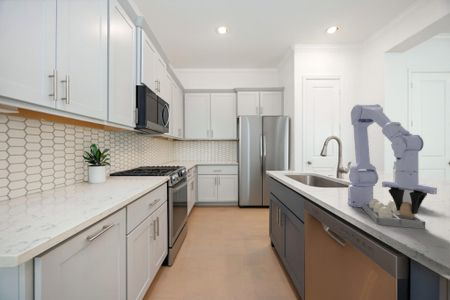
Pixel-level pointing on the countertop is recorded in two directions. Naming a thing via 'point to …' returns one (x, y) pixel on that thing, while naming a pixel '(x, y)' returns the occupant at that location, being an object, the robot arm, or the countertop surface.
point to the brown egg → (406, 210)
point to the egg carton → (394, 219)
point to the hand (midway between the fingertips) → (407, 211)
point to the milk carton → (406, 193)
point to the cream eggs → (384, 208)
